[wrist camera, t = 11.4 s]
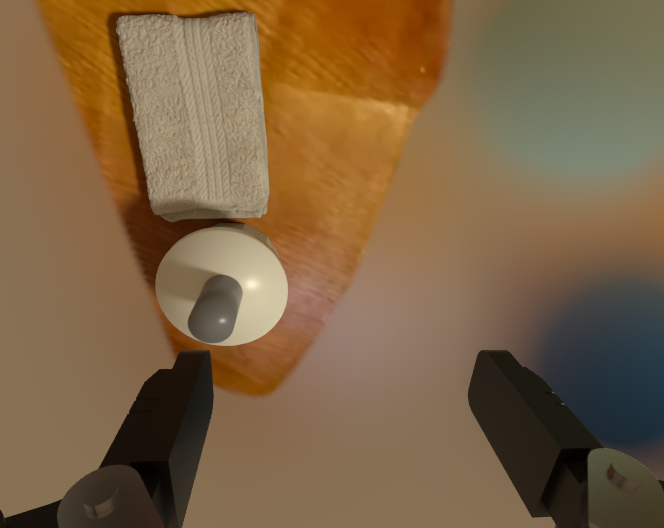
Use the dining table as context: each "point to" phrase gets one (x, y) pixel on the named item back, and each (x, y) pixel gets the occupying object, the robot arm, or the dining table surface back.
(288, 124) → the dining table surface
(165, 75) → the washcloth
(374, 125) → the dining table surface
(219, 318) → the lid
